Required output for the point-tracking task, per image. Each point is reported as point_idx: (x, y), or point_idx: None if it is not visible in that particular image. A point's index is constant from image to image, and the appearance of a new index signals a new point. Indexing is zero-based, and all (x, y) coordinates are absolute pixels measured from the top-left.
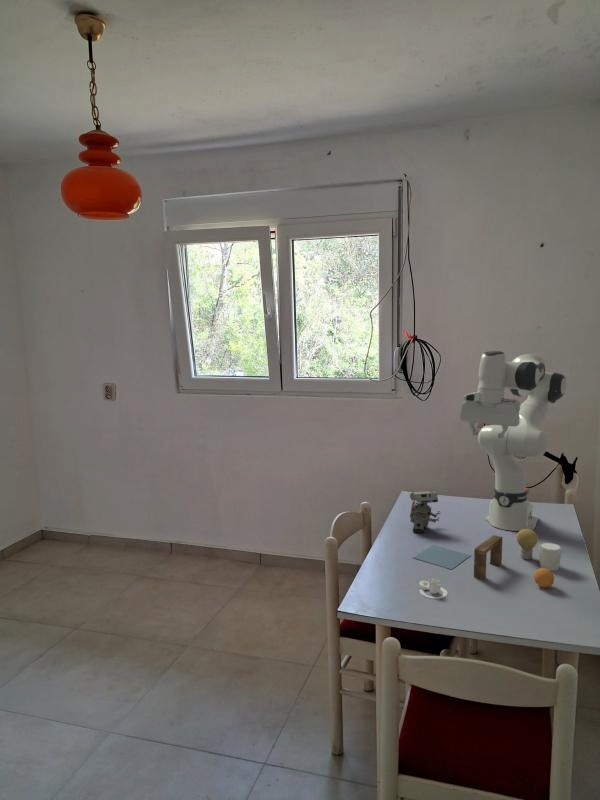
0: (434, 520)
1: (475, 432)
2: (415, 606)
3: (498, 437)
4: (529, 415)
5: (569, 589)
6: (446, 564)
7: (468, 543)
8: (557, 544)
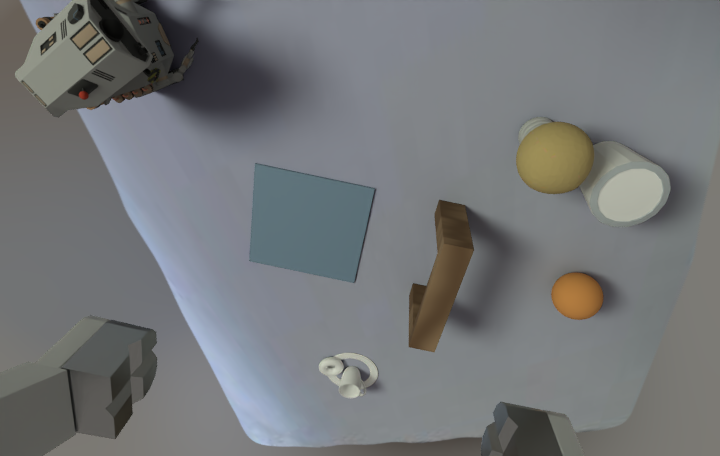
0: (189, 65)
1: (126, 410)
2: (341, 414)
3: (487, 453)
4: None
5: (631, 272)
6: (334, 265)
7: (344, 96)
8: (660, 168)
